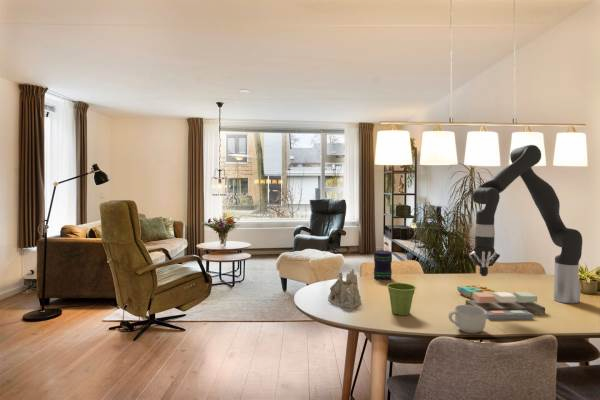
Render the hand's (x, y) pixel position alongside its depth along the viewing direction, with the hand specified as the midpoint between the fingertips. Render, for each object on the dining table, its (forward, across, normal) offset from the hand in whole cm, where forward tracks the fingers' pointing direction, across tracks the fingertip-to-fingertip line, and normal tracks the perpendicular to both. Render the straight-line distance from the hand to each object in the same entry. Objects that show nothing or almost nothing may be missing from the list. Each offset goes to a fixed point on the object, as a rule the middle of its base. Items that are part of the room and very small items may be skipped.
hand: (483, 275), depth 176 cm
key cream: (+10, -9, 0) cm, 14 cm away
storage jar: (+15, +29, -59) cm, 67 cm away
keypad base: (+14, -9, 0) cm, 17 cm away
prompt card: (+14, -5, +10) cm, 18 cm away
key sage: (+10, -18, 0) cm, 21 cm away
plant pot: (+15, +36, +3) cm, 39 cm away
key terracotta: (+10, 0, 0) cm, 10 cm away
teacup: (+15, +18, +24) cm, 34 cm away
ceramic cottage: (+15, +57, -14) cm, 61 cm away
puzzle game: (+15, -8, -17) cm, 24 cm away
